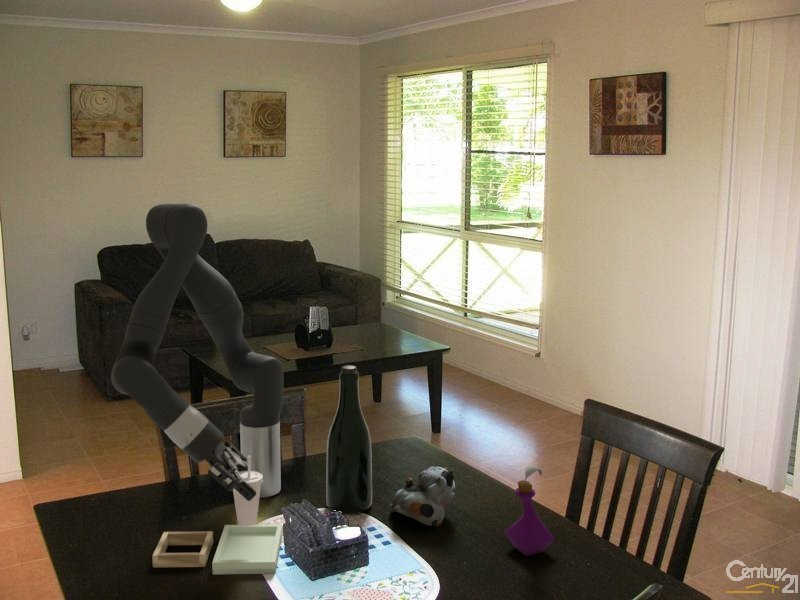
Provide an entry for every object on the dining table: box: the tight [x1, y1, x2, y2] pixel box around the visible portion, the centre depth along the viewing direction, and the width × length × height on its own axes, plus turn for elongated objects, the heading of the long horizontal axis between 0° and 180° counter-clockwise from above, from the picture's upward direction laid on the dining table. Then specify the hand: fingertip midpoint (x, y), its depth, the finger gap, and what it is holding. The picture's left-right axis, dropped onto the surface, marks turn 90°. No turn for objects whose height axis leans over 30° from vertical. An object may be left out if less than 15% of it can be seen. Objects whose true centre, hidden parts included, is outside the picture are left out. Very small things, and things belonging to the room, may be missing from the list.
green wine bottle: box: [325, 364, 373, 515], centre depth 187 cm, size 10×10×33 cm
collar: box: [152, 530, 214, 568], centre depth 167 cm, size 10×10×2 cm
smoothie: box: [231, 456, 263, 526], centre depth 165 cm, size 6×6×14 cm
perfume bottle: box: [503, 464, 556, 557], centre depth 169 cm, size 8×8×18 cm
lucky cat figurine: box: [389, 466, 456, 528], centre depth 184 cm, size 15×12×14 cm
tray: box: [211, 524, 283, 575], centre depth 167 cm, size 16×12×2 cm
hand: (255, 489), depth 165 cm, fingers closed on smoothie, 6 cm apart
